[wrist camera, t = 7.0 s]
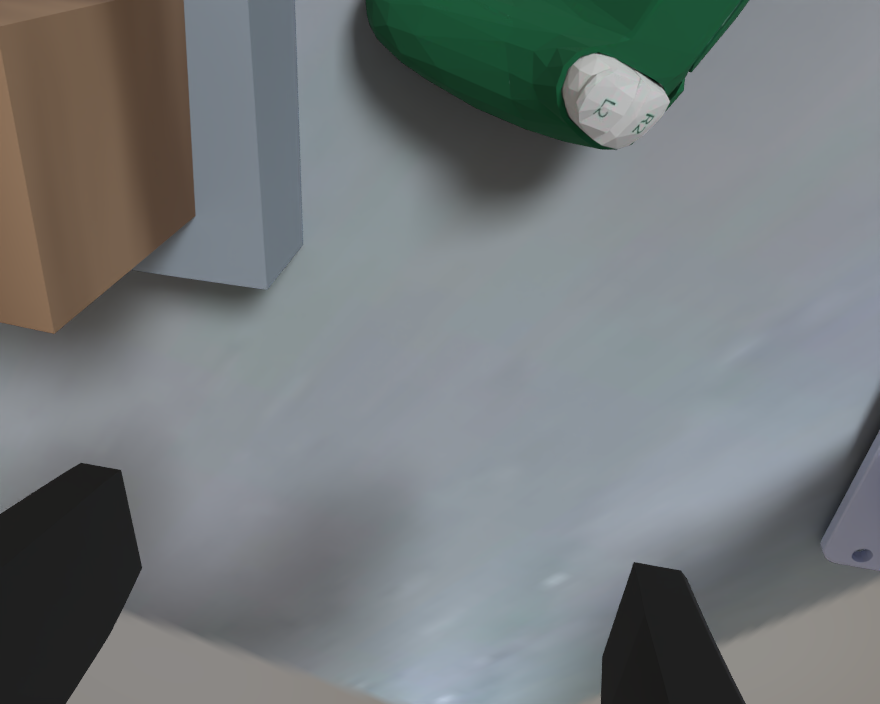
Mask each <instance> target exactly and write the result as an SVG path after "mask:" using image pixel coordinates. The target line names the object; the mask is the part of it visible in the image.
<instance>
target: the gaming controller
mask: <svg viewBox="0 0 880 704" xmlns="http://www.w3.org/2000/svg"><path fill="white" fill-rule="evenodd" d="M748 1H749V0H366V10H367V16H368V20H369V24H370V26H371V28H372V30H373V32H374V34H375V36H376V38H377V39H378V40H379V41H380V42H381V43H382V44H383V45H384V46H385V47H386V48H387V49H388V50H389V51H390V52H391V53H392V54H393V55H394V56H395V57H396V58H397V59H398V60H400V61H401V62H402V63H403V64H405V65H406V66H408V67H409V68H411V69H412V70H413V71H415V72H416V73H418V74H419V75H421V76H422V77H424V78H425V79H427V80H428V81H430V82H432V83H434V84H435V85H437V86H439V87H440V88H442V89H444V90H446V91H447V92H449V93H451V94H452V95H454V96H456V97H458V98H459V99H461V100H463V101H464V102H466V103H468V104H470V105H471V106H473V107H475V108H477V109H479V110H482V111H484V112H486V113H489V114H491V115H493V116H496V117H498V118H500V119H503V120H505V121H508V122H510V123H512V124H515V125H517V126H519V127H522V128H524V129H527V130H530V131H533V132H536V133H539V134H542V135H545V136H549V137H552V138H555V139H558V140H561V141H565V142H569V143H573V144H578V145H583V146H588V147H593V148H598V149H614V150H617V149H620V148H623V147H626V146H629V145H631V144H633V143H634V142H635V141H637V140H638V139H640V138H641V137H643V136H644V135H645V134H646V133H647V132H648V131H649V130H650V129H651V128H652V126H653V125H654V124H655V123H656V122H657V121H658V120H659V119H660V118H661V117H662V116H663V115H664V113H665V111H666V110H667V109H668V108H669V107H670V106H671V104H672V103H673V102H674V101H675V100H676V99H677V98H678V96H679V95H680V94H681V93H682V92H683V91H684V82H685V77H686V76H687V73H688V71H689V72H692V71H693V70H694V69H695V67H696V66H697V65H698V64H699V63H700V61H701V60H702V59H703V58H704V57H705V55H706V54H707V53H708V52H709V50H710V49H711V48H712V47H713V46H714V44H715V43H716V42H717V41H718V40H719V38H720V37H721V36H722V35H723V34H724V32H725V31H726V30H727V29H728V28H729V26H730V25H731V24H732V23H733V22H734V20H735V19H736V18H737V17H738V15H739V14H740V12H741V11H742V10H743V8H744V7H745V5H746V4H747V3H748Z"/></svg>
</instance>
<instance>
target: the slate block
mask: <svg viewBox="0 0 880 704" xmlns="http://www.w3.org/2000/svg"><path fill="white" fill-rule="evenodd" d="M184 14H185V32H186V51H187V69H188V87H189V105H190V123H191V141H192V160H193V178H194V196H195V214H196V216H195V217H194V218H192V219H191V220H190V221H189V222H188V223H186V224H185V225H184V226H183V227H182V228H180V229H179V230H178V231H177V232H176V233H174V234H173V235H172V236H171V237H170V238H169V239H167V240H166V241H165V242H164V243H163V244H161V245H160V246H159V247H158V248H157V249H155V250H154V251H153V252H152V253H151V254H149V255H148V256H147V257H146V258H145V259H143V260H142V261H141V262H140V263H139V264H137V265H136V266H135V267H134V268H133V269H131V270H134V271H140V272H147V273H154V274H161V275H168V276H175V277H182V278H189V279H196V280H203V281H209V282H216V283H223V284H230V285H237V286H244V287H251V288H258V289H265V290H267V289H268V288H269V287H270V285H271V284H272V283H273V282H274V280H275V279H276V278H277V277H278V275H279V274H280V273H281V272H282V270H283V269H284V268H285V267H286V265H287V264H288V263H289V262H290V260H291V259H292V258H293V256H294V255H295V254H296V253H297V251H298V250H299V249H300V248H301V246H302V245H303V225H302V196H301V166H300V137H299V107H298V78H297V48H296V19H295V0H184Z"/></svg>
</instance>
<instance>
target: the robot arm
mask: <svg viewBox="0 0 880 704" xmlns="http://www.w3.org/2000/svg"><path fill="white" fill-rule="evenodd" d="M820 545H821V548H822V551H823V553H824V556H825V558H826V559H828V560H829V561H831V562H834V563H837V564H843V565H849V566H854V567H860V568H866V569H872V570H877V571H880V430H879V432H878V434H877V436H876V438H875V440H874V442H873V444H872V446H871V447H870V449H869V451H868V453H867V455H866V457H865V459H864V461H863V463H862V464H861V466H860V468H859V470H858V472H857V474H856V476H855V478H854V479H853V481H852V483H851V485H850V487H849V489H848V491H847V493H846V495H845V496H844V498H843V500H842V502H841V504H840V506H839V508H838V510H837V512H836V513H835V515H834V517H833V519H832V521H831V523H830V525H829V527H828V529H827V530H826V532H825V534H824V536H823V538H822V540H821V544H820ZM859 549H865V550H862V551H857V550H859ZM141 569H142V566H141V561H140V556H139V552H138V547H137V542H136V538H135V533H134V528H133V524H132V519H131V514H130V510H129V505H128V500H127V496H126V491H125V486H124V482H123V477H122V472H121V470H118V469H112V468H106V467H101V466H95V465H90V464H84V463H80V464H78V465H77V466H75V467H73V468H72V469H70V470H68V471H67V472H65V473H63V474H62V475H60V476H59V477H57V478H55V479H54V480H52V481H51V482H49V483H48V484H46V485H44V486H43V487H41V488H40V489H38V490H37V491H35V492H34V493H32V494H31V495H29V496H27V497H26V498H24V499H23V500H21V501H20V502H18V503H17V504H15V505H14V506H12V507H10V508H9V509H7V510H6V511H4V512H3V513H1V514H0V704H66V702H67V701H68V699H69V698H70V696H71V695H72V693H73V692H74V690H75V688H76V687H77V685H78V684H79V682H80V680H81V679H82V677H83V676H84V674H85V673H86V671H87V670H88V668H89V667H90V665H91V663H92V662H93V660H94V659H95V657H96V655H97V654H98V652H99V651H100V649H101V648H102V646H103V644H104V643H105V641H106V639H107V638H108V636H109V634H110V633H111V631H112V629H113V627H114V624H115V623H116V621H117V619H118V617H119V615H120V613H121V611H122V609H123V607H124V605H125V603H126V601H127V599H128V597H129V594H130V592H131V590H132V588H133V586H134V584H135V582H136V580H137V577H138V575H139V573H140V571H141ZM601 704H746V703H745V701H744V700H743V698H742V696H741V694H740V692H739V690H738V688H737V686H736V684H735V682H734V680H733V678H732V676H731V674H730V672H729V670H728V668H727V665H726V663H725V661H724V659H723V657H722V655H721V653H720V651H719V649H718V647H717V645H716V643H715V641H714V638H713V636H712V634H711V632H710V630H709V628H708V626H707V623H706V621H705V619H704V617H703V615H702V612H701V610H700V608H699V606H698V603H697V601H696V599H695V597H694V594H693V592H692V590H691V587H690V585H689V583H688V580H687V578H686V577H685V575H684V574H683V573H682V572H681V571H680V570H674V569H669V568H663V567H658V566H652V565H647V564H641V563H635V562H634V564H633V567H632V570H631V573H630V575H629V578H628V581H627V584H626V587H625V590H624V593H623V596H622V599H621V602H620V605H619V608H618V611H617V614H616V617H615V620H614V623H613V626H612V629H611V632H610V635H609V638H608V641H607V644H606V647H605V650H604V653H603V656H602V685H601Z"/></svg>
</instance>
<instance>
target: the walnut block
mask: <svg viewBox="0 0 880 704" xmlns="http://www.w3.org/2000/svg"><path fill="white" fill-rule="evenodd" d="M195 216H196V214H195V196H194V178H193V160H192V141H191V123H190V105H189V87H188V69H187V51H186V32H185V14H184V0H0V322H1V323H6V324H11V325H15V326H20V327H25V328H30V329H34V330H39V331H44V332H48V333H53V334H55V333H56V332H57V331H58V330H59V329H61V328H62V327H63V326H64V325H65V324H67V323H68V322H69V321H70V320H71V319H73V318H74V317H75V316H76V315H77V314H79V313H80V312H81V311H82V310H83V309H85V308H86V307H87V306H88V305H89V304H91V303H92V302H93V301H94V300H95V299H97V298H98V297H99V296H100V295H101V294H103V293H104V292H105V291H106V290H107V289H109V288H110V287H111V286H112V285H113V284H115V283H116V282H117V281H118V280H119V279H121V278H122V277H123V276H124V275H125V274H127V273H128V272H129V271H130V270H131V269H133V268H134V267H135V266H136V265H137V264H139V263H140V262H141V261H142V260H143V259H145V258H146V257H147V256H148V255H149V254H151V253H152V252H153V251H154V250H155V249H157V248H158V247H159V246H160V245H161V244H163V243H164V242H165V241H166V240H167V239H169V238H170V237H171V236H172V235H173V234H174V233H176V232H177V231H178V230H179V229H180V228H182V227H183V226H184V225H185V224H186V223H188V222H189V221H190V220H191V219H192V218H194V217H195Z"/></svg>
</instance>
